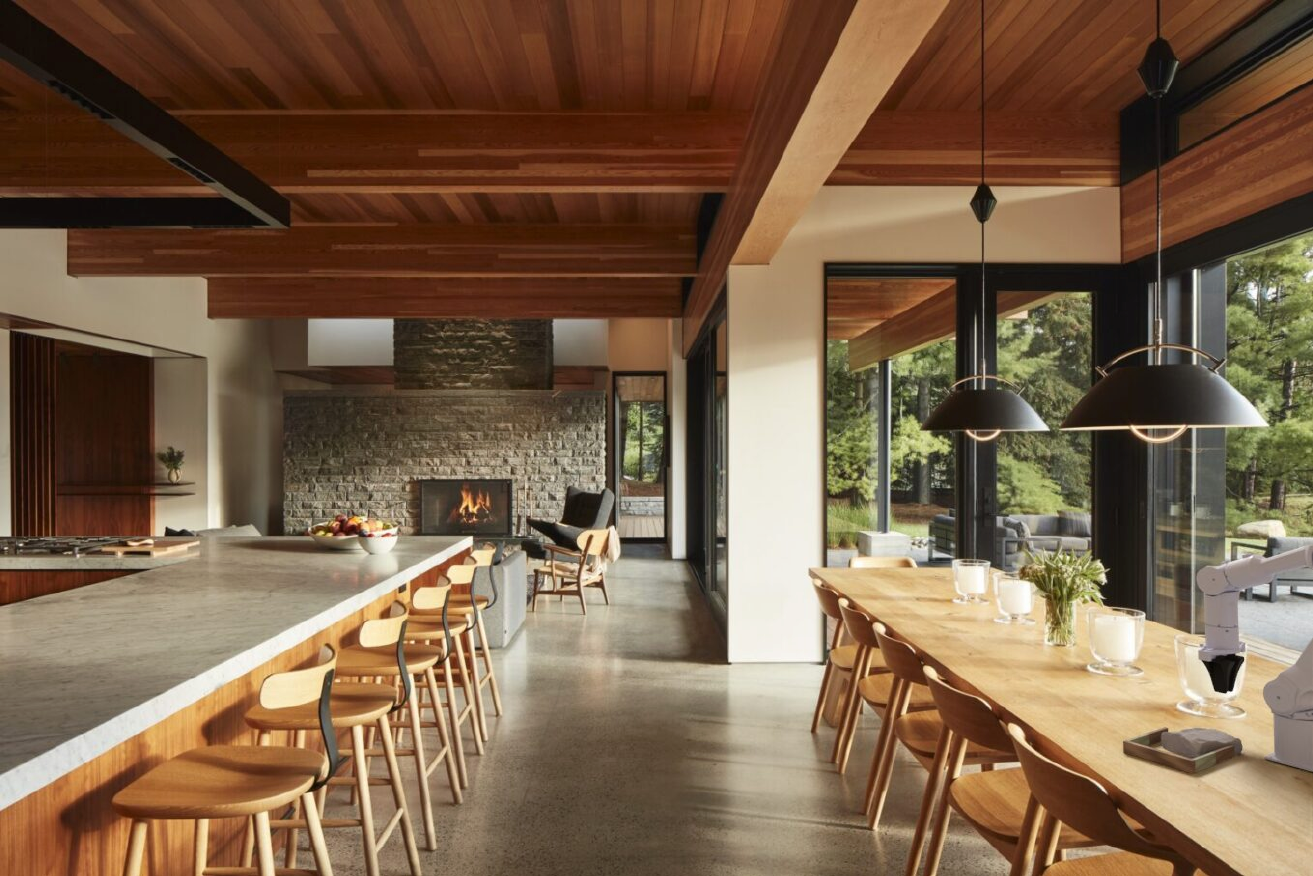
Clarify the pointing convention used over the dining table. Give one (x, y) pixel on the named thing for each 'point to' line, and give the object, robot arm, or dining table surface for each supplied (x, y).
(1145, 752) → the guide slot
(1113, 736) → the dining table surface
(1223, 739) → the stone block
